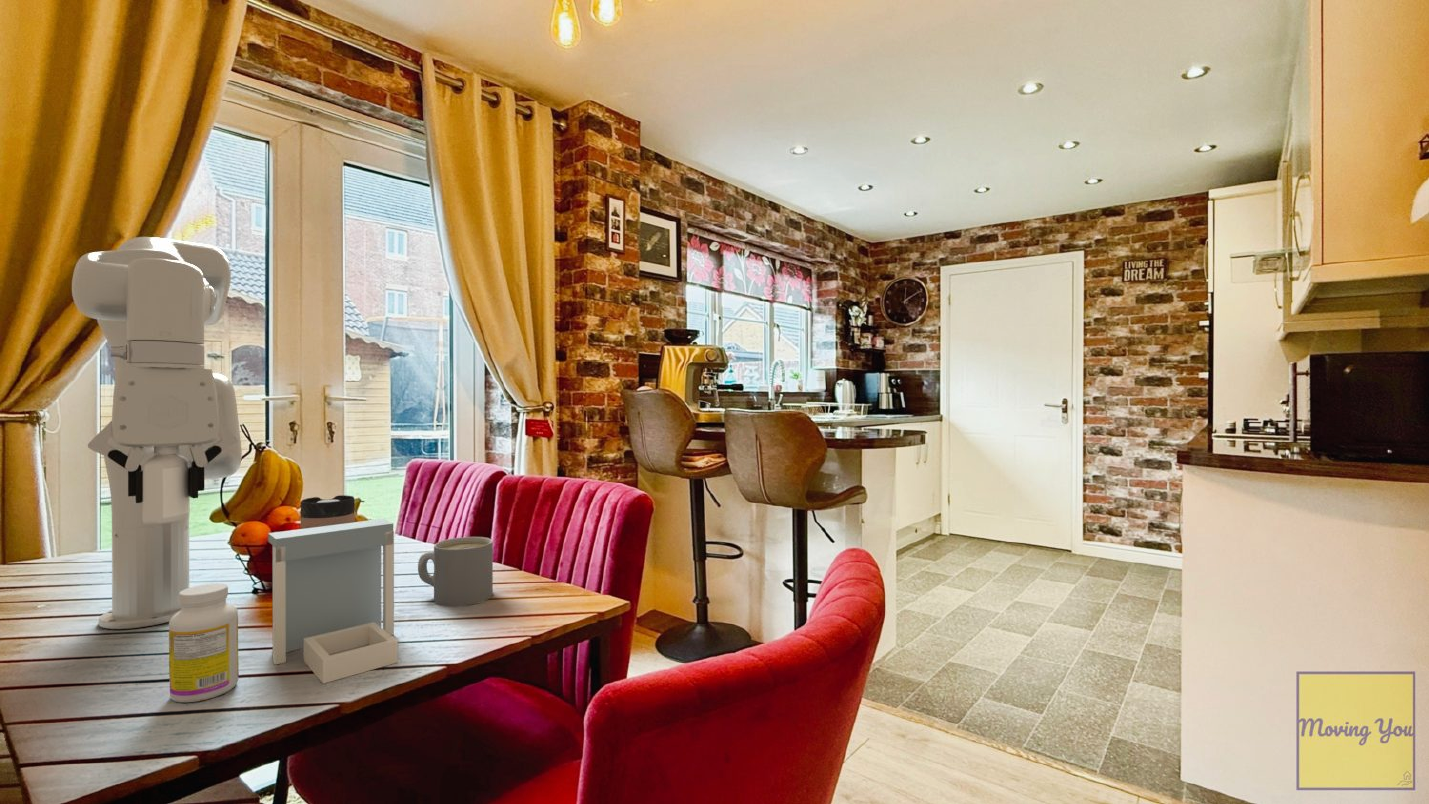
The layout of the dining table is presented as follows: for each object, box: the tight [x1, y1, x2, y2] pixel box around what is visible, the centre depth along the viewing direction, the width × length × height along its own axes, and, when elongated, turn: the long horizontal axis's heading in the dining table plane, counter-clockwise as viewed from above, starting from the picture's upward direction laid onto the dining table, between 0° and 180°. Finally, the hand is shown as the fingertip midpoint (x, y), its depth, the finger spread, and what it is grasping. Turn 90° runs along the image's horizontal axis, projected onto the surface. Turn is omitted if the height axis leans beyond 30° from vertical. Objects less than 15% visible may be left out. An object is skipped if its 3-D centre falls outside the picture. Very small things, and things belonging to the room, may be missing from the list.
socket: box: [303, 622, 399, 684], centre depth 86 cm, size 10×9×3 cm
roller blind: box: [267, 518, 395, 665], centre depth 92 cm, size 5×15×17 cm, turn 135°
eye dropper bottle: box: [143, 445, 191, 524], centre depth 80 cm, size 4×6×12 cm
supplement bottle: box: [168, 583, 240, 703], centre depth 77 cm, size 7×7×13 cm
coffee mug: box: [417, 536, 494, 608], centre depth 114 cm, size 13×10×10 cm
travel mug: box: [299, 494, 356, 529], centre depth 101 cm, size 8×8×20 cm
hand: (167, 497), depth 80 cm, fingers closed on eye dropper bottle, 4 cm apart
